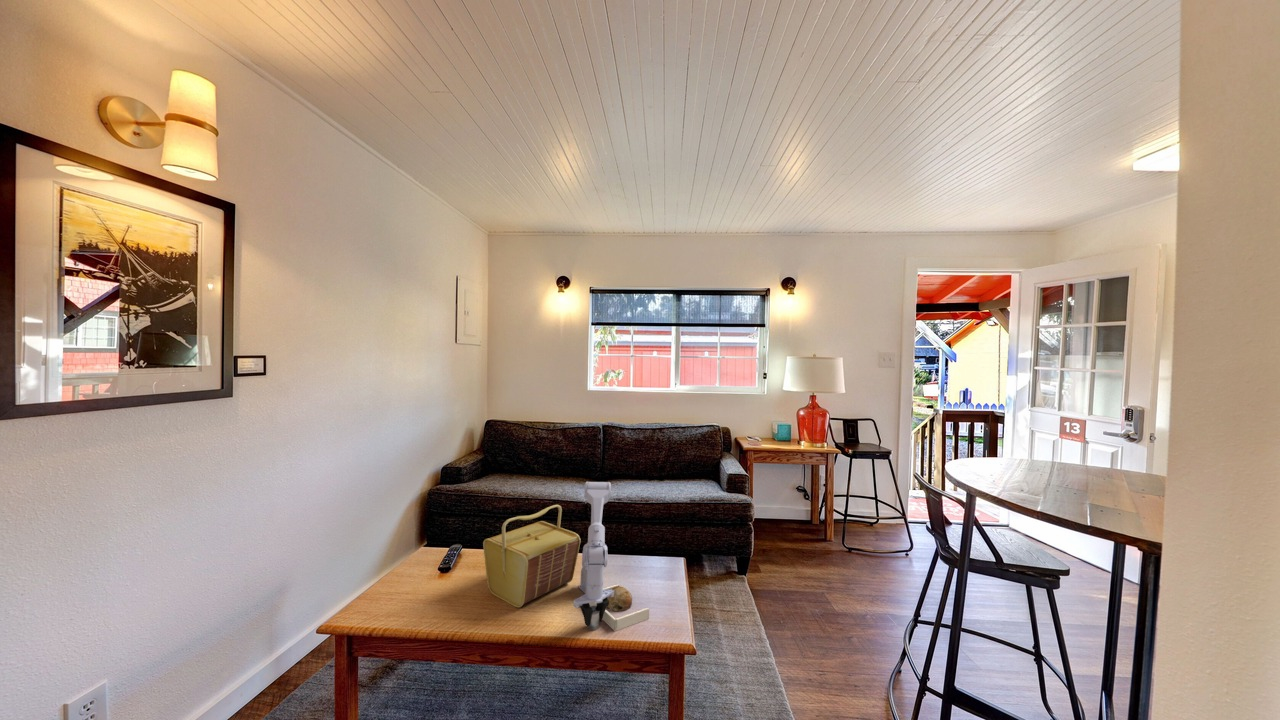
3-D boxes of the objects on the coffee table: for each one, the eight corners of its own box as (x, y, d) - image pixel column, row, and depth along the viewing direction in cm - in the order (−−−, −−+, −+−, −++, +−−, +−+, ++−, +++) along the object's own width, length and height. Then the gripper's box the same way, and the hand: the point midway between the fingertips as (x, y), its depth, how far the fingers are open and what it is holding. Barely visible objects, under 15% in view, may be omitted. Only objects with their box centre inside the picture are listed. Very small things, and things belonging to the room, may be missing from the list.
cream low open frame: (585, 603, 167) (585, 593, 167) (617, 593, 175) (618, 584, 175) (614, 631, 150) (615, 620, 150) (648, 618, 159) (649, 608, 159)
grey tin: (584, 625, 153) (585, 608, 153) (595, 622, 155) (596, 604, 155) (590, 632, 149) (591, 613, 149) (601, 628, 152) (602, 610, 152)
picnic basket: (521, 616, 157) (525, 530, 157) (478, 591, 172) (481, 512, 173) (581, 585, 180) (584, 510, 180) (538, 565, 196) (540, 496, 196)
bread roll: (605, 619, 164) (606, 604, 160) (603, 594, 173) (604, 579, 169) (632, 618, 165) (634, 603, 162) (629, 593, 174) (631, 578, 171)
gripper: (581, 593, 145) (579, 635, 145) (619, 581, 153) (617, 622, 153) (571, 583, 151) (569, 624, 151) (608, 573, 159) (607, 612, 159)
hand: (593, 622), depth 152 cm, fingers closed on grey tin, 4 cm apart
